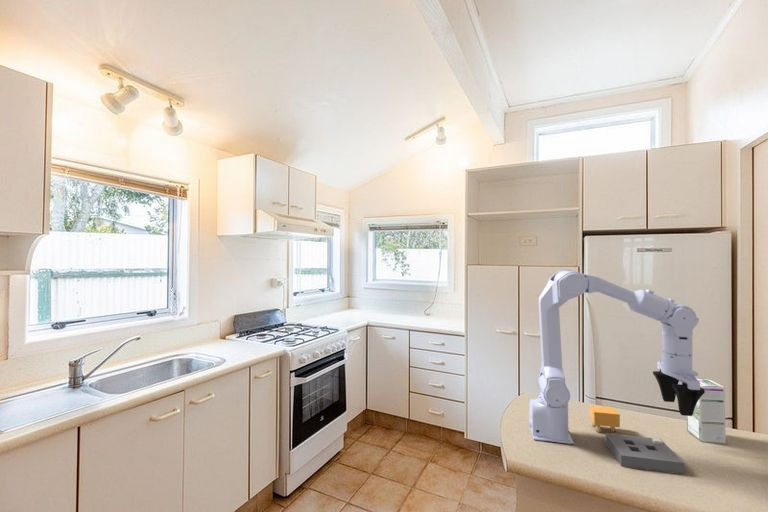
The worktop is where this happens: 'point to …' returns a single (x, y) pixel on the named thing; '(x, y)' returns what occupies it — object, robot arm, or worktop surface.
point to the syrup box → (709, 414)
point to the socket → (644, 453)
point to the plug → (604, 417)
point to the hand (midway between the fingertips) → (677, 407)
